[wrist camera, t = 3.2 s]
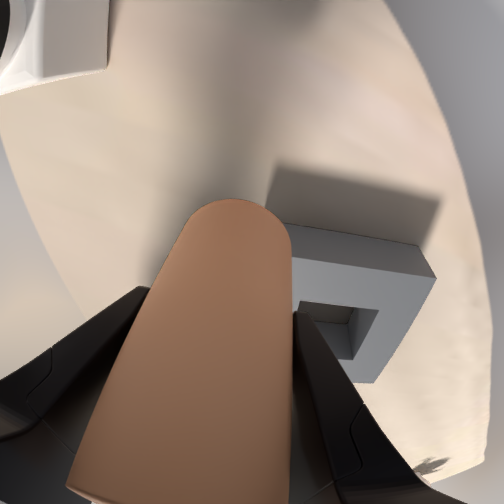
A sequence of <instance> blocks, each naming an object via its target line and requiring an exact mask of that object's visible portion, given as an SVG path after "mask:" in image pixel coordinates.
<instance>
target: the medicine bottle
mask: <svg viewBox="0 0 504 504" xmlns="http://www.w3.org/2000/svg"><path fill="white" fill-rule="evenodd" d="M109 1H110V0H0V95H3V94H6V93H10V92H13V91H17V90H21V89H24V88H28V87H32V86H36V85H40V84H44V83H48V82H52V81H57V80H61V79H66V78H71V77H76V76H81V75H86V74H92V73H98V72H102V71H104V70H105V69H106V67H107V33H108V14H109Z"/></svg>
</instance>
